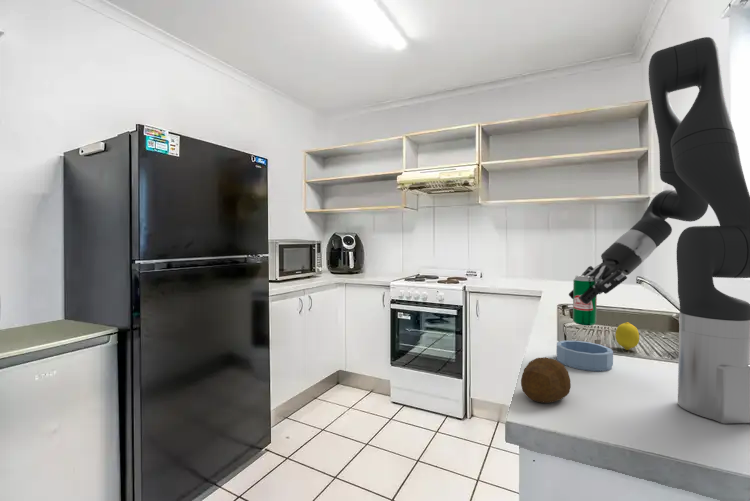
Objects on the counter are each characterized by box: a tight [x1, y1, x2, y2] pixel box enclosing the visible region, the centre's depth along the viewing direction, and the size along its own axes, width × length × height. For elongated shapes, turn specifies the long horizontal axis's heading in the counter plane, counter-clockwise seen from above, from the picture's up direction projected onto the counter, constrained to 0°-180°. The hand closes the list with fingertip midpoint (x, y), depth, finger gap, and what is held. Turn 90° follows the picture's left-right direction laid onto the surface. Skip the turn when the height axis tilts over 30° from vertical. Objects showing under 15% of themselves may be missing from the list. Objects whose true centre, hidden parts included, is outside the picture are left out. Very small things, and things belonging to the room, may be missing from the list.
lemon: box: [614, 322, 640, 351], centre depth 100 cm, size 6×6×8 cm
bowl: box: [555, 340, 614, 372], centre depth 88 cm, size 12×12×4 cm
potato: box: [520, 356, 572, 404], centre depth 68 cm, size 8×12×8 cm, turn 136°
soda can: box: [572, 275, 598, 327], centre depth 88 cm, size 5×5×12 cm
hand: (577, 299), depth 88 cm, fingers closed on soda can, 5 cm apart
